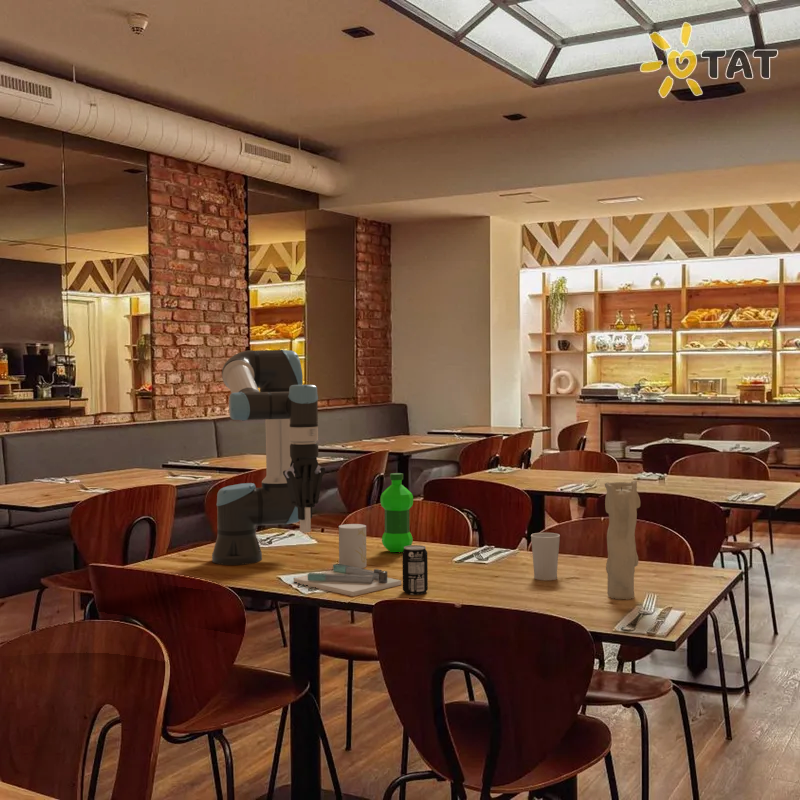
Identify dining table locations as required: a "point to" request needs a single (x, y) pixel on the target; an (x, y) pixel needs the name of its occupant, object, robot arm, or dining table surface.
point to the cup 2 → (545, 555)
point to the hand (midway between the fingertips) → (305, 531)
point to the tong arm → (340, 577)
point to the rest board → (347, 585)
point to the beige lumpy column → (621, 538)
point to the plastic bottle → (396, 515)
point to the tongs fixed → (362, 572)
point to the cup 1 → (352, 545)
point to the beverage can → (415, 570)
